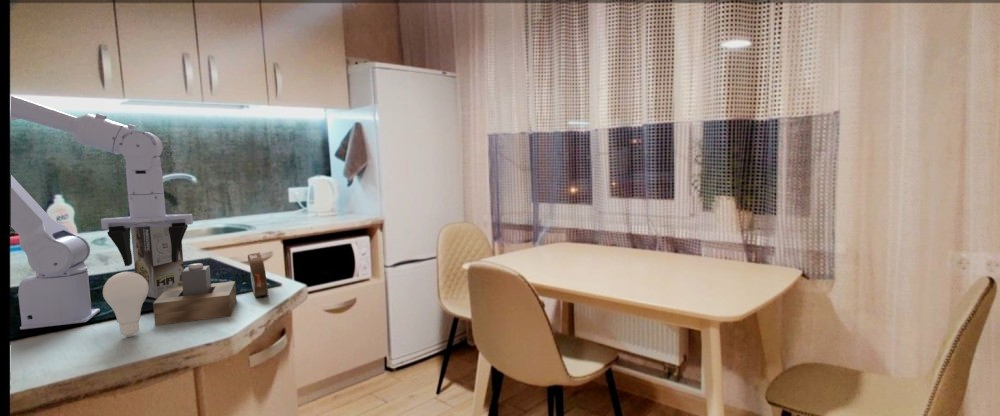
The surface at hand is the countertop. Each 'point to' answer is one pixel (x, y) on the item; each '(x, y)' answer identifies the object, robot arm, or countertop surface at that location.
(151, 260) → the coffee box
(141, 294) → the lightbulb
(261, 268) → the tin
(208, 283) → the plug
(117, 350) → the countertop surface
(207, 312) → the holder
